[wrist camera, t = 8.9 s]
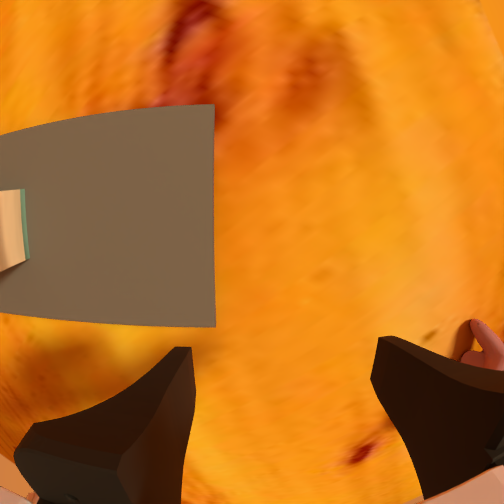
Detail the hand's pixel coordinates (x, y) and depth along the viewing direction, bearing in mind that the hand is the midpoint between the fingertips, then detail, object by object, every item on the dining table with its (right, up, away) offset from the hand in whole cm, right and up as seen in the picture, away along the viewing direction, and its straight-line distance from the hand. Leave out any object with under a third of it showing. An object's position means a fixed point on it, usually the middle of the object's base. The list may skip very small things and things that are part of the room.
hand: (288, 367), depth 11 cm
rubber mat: (-15, +6, +7) cm, 18 cm away
